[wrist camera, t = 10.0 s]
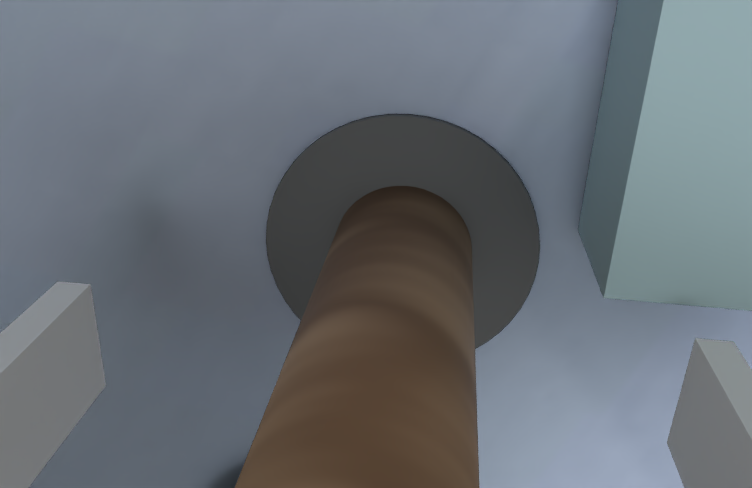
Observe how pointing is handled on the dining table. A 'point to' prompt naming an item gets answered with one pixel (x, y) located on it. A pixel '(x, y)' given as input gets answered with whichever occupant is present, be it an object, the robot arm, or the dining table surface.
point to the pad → (416, 169)
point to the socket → (674, 156)
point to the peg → (380, 358)
